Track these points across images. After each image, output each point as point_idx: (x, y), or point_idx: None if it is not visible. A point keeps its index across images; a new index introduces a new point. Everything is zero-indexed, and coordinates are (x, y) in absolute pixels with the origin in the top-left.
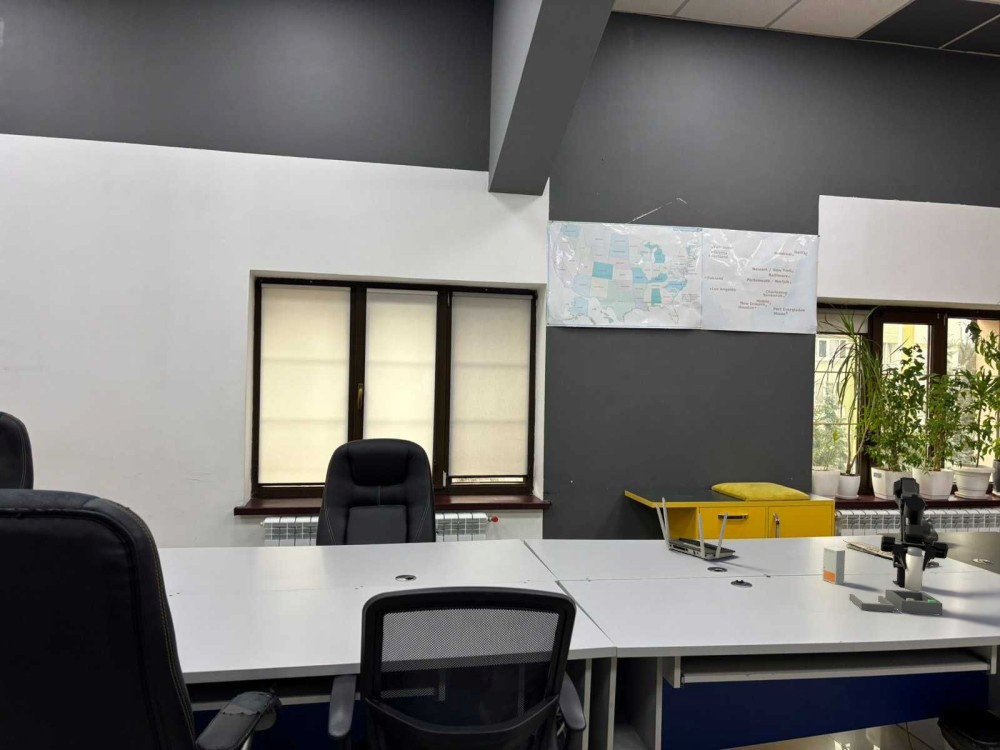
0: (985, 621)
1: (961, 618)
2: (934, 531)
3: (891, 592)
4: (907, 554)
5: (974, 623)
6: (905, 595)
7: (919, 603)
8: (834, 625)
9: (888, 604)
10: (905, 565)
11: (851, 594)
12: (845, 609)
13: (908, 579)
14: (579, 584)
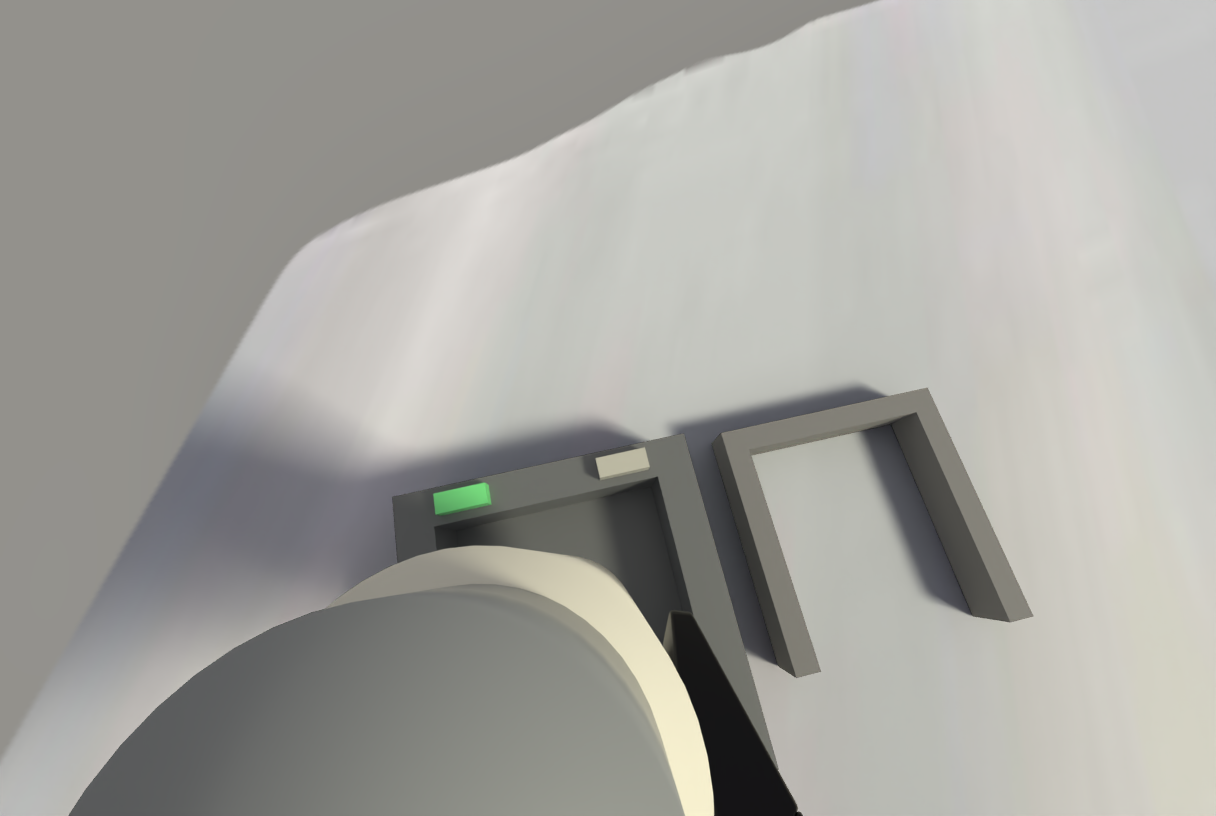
0: (191, 485)
1: (324, 486)
2: None
3: (734, 670)
4: (683, 752)
5: (287, 413)
6: None
7: (560, 461)
8: (995, 112)
9: (760, 440)
10: (683, 636)
11: (1016, 600)
12: (985, 371)
13: (623, 586)
14: None
